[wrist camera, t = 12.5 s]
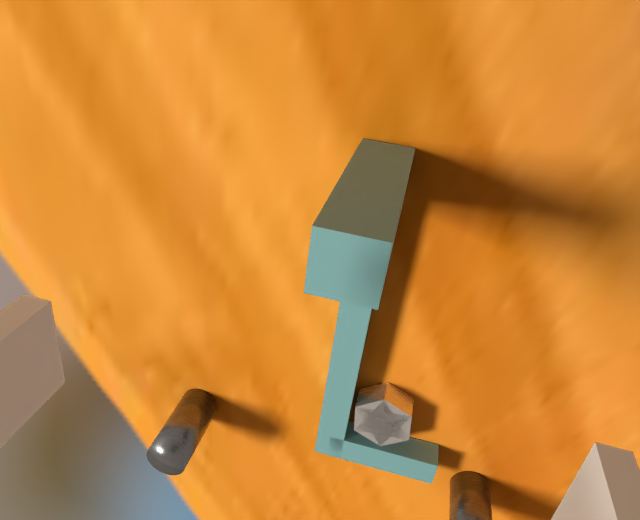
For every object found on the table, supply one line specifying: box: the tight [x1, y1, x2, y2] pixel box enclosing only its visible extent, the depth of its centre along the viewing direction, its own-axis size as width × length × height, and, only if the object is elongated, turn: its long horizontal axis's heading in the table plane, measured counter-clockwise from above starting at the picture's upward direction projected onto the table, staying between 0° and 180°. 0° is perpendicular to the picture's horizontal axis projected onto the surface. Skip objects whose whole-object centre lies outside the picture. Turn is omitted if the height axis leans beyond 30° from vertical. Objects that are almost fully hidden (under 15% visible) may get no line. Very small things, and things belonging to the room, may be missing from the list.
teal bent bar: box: [304, 138, 439, 484], centre depth 29 cm, size 24×10×12 cm, turn 173°
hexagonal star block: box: [354, 382, 414, 446], centre depth 38 cm, size 4×5×2 cm
